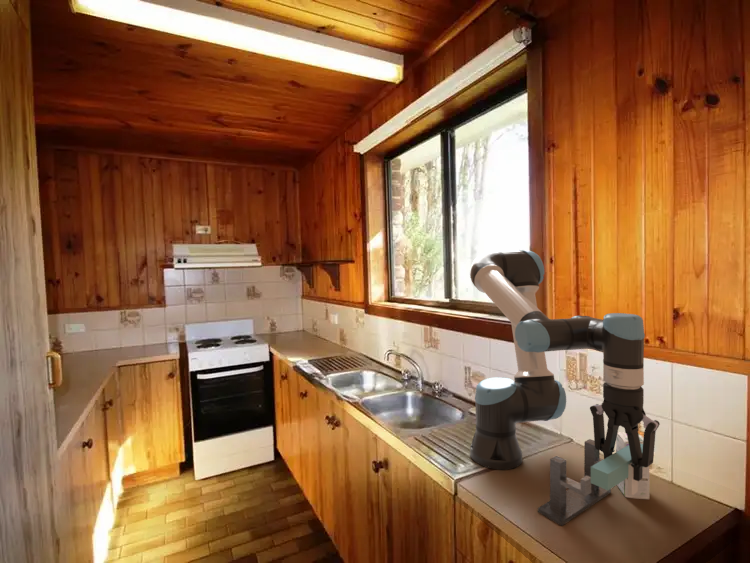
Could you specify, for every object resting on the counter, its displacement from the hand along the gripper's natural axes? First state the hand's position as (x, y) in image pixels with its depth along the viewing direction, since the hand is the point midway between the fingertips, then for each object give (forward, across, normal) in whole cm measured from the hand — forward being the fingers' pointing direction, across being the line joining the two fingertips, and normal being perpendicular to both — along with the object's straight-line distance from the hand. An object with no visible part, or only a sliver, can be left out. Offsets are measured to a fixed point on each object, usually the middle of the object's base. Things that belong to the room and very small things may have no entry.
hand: (622, 487), depth 87 cm
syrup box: (+9, -5, +16) cm, 19 cm away
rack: (+9, -9, 0) cm, 12 cm away
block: (-4, 0, 0) cm, 4 cm away
